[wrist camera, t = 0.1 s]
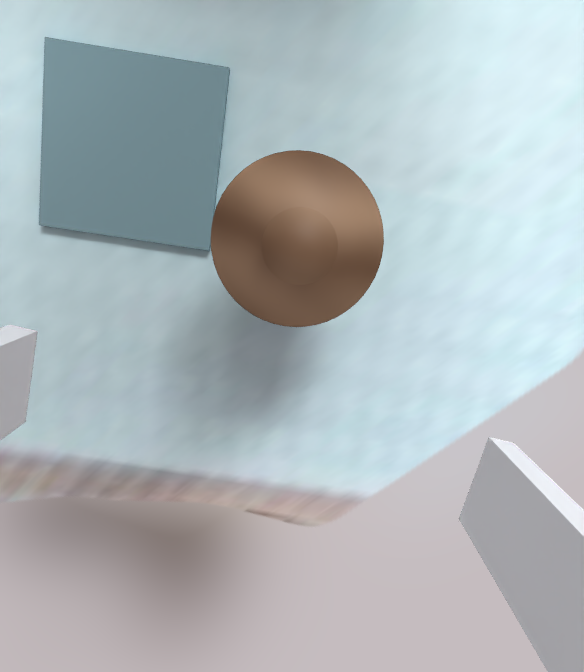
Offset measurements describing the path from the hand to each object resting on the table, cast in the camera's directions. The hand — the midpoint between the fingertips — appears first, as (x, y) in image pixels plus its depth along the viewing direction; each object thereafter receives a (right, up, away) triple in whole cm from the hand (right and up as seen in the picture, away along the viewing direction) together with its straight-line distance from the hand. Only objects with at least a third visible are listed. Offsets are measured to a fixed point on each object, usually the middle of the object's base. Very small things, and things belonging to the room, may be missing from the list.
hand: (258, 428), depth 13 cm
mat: (-12, +18, +25) cm, 33 cm away
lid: (+1, +9, +18) cm, 20 cm away
